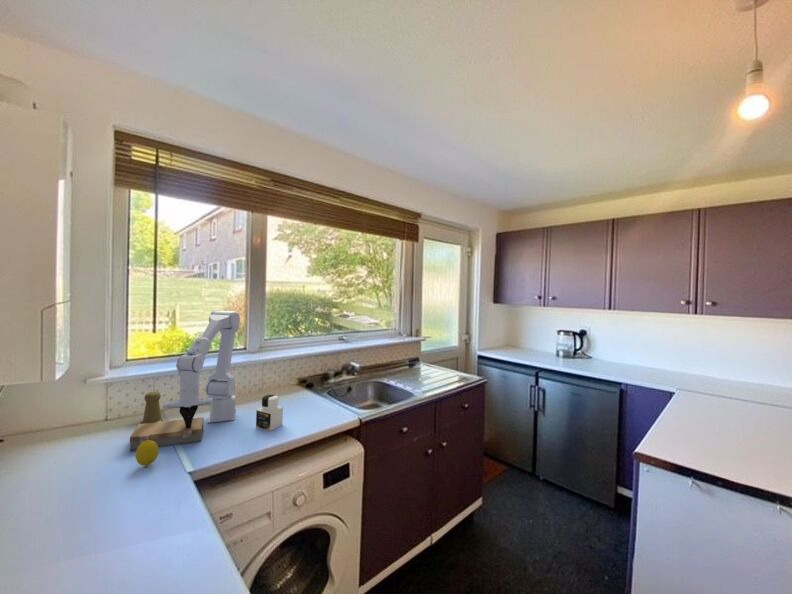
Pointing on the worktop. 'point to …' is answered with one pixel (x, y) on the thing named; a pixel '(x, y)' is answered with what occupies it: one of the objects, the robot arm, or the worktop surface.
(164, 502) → the worktop surface
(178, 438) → the cable duct
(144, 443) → the lemon
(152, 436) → the tan flat wooden board
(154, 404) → the cork
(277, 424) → the medicine bottle
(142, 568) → the worktop surface
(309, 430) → the worktop surface
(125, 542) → the worktop surface
